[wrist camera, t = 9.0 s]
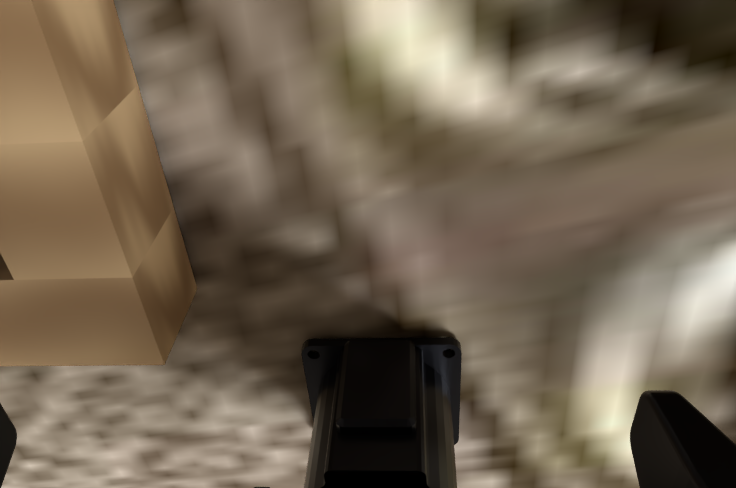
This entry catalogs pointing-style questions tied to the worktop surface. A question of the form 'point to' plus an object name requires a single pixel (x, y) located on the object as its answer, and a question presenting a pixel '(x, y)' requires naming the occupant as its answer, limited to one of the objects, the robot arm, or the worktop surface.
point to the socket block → (82, 197)
